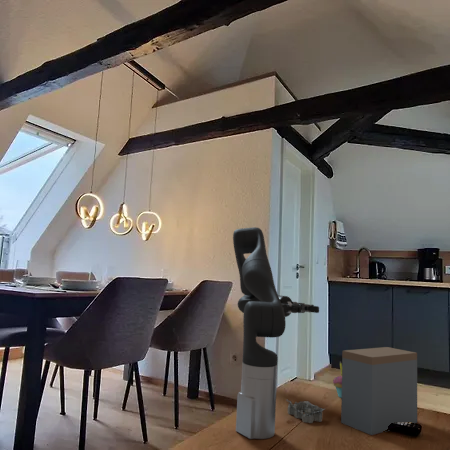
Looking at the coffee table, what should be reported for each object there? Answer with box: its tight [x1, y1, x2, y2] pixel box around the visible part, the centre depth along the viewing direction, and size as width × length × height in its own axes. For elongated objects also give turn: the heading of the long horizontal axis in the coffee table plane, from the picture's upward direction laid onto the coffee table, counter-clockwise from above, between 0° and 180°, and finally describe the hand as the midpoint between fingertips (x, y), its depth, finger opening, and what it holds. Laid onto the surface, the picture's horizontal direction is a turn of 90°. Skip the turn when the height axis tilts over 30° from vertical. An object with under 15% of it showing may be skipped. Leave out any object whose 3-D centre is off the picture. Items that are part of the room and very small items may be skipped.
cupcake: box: [332, 361, 342, 399], centre depth 142 cm, size 9×8×12 cm
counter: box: [340, 346, 418, 436], centre depth 118 cm, size 22×10×20 cm, turn 125°
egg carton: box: [285, 398, 325, 424], centre depth 119 cm, size 11×8×4 cm
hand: (309, 309), depth 136 cm, fingers open, 8 cm apart
